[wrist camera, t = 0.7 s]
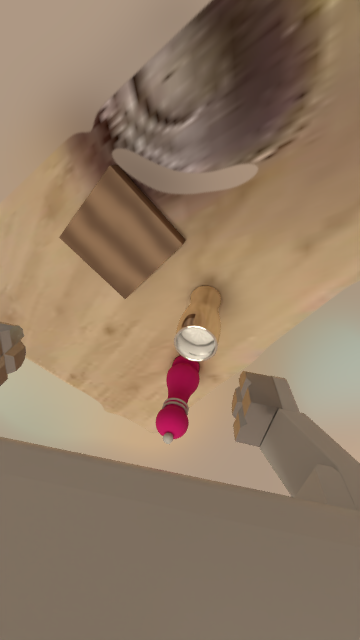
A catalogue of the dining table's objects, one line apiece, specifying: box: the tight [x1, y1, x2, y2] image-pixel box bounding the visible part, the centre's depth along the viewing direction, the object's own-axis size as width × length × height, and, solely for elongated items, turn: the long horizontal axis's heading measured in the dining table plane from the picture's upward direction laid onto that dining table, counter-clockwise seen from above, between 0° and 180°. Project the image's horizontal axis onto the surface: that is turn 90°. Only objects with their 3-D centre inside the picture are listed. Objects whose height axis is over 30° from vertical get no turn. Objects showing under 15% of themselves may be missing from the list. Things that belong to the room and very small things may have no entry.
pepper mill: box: [156, 356, 199, 444], centre depth 53 cm, size 7×7×20 cm
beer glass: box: [174, 286, 221, 361], centre depth 45 cm, size 7×7×15 cm
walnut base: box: [59, 165, 185, 299], centre depth 47 cm, size 16×16×3 cm
